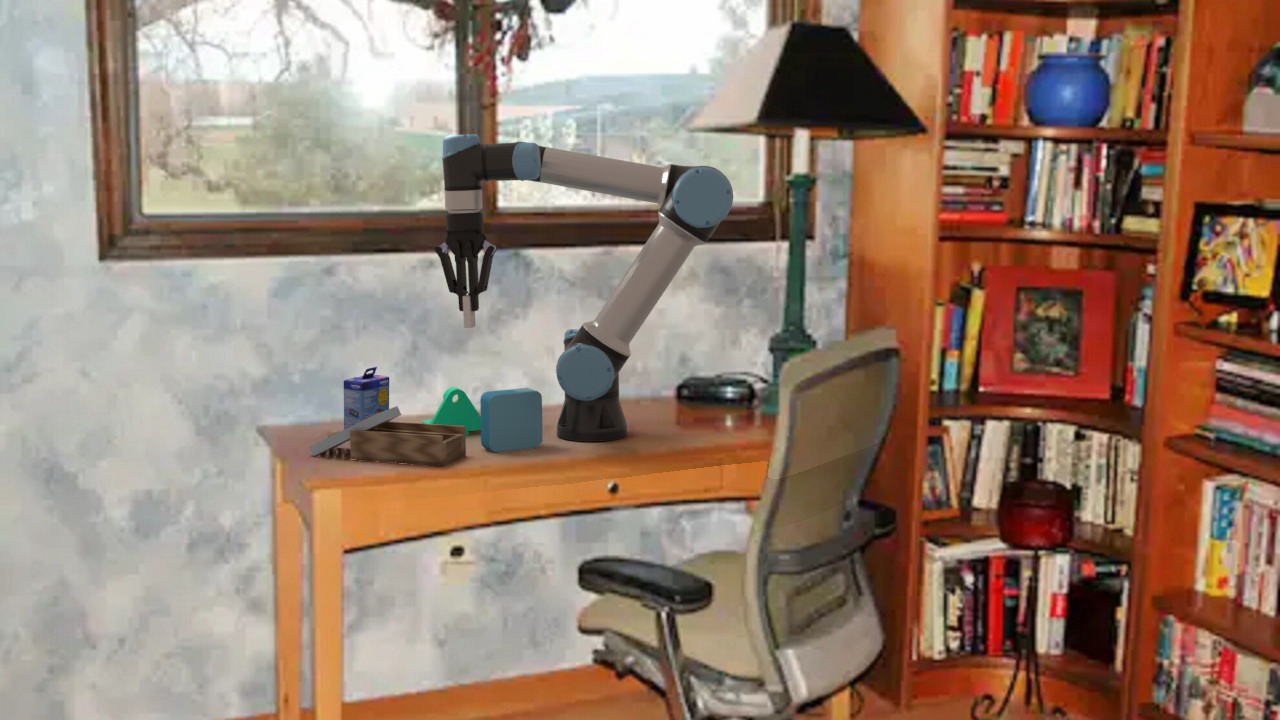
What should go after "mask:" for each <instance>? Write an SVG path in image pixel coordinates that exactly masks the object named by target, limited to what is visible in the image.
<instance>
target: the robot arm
mask: <svg viewBox="0 0 1280 720" xmlns="http://www.w3.org/2000/svg"><path fill="white" fill-rule="evenodd" d="M441 159H442V170H443V185H444V186H443V187H444V209H445V210H446V211H448V212H447V213H446V214H445V227H446V228H445V229H446V236H445V239H444V242H443V243H441V244H440V245H438V246H435V248H434V251H435V253H436V254H437V256H438V257H439V259H440V263H441V267H442V270H443V274H444V278H445V280H446V284H447V288H448V291H449V293H452V294H455V295H456V296H458V297H457V299H458V309H459V311H460V312H462V313H463V328H464V329H472V328H475V327H476V325H477V324H476V312H478V311H479V309H480V302H479V299H480V298H479V297H480V294H482V293H484V292H486V291H487V290H488V286H489V281H490V276H491V275H490V274H491V271H492V270H491V269H492V264H493V259H494V255H495V254H496V252H497V251H498V246H497V245H496V244H492V243H491V242H489V241H487V237H486V235H485V233H484V231H485V229H484V214H483V213H482V211H480V210H482V209H483V192H482V191H483V189H482V188H483V187H482V182H490V181H492V182H495V181H499V182H501V181H503V182H505V181H522V182H524V181H528V182H535V183H542V184H547V185H551V186H552V185H553V186H559V187H564V188H570V189H574V190H575V189H576V190H581V191H586V192H592V193H597V194H603V195H609V196H615V197H620V198H624V199H625V198H626V199H631V200H637V201H642V202H647V203H653V204H657V205H659V207H660V208H659V210H658V211H657V214H658V215H657V216H658V219H659V220H658V224H657V226H656V228H655V229H654V230H653V232H652V233H651V235H650V237H648V239H647V241H646V242H645V244H644V245H643V247H642V248H641V250H640V251H639V252H638V254H637V256H636V257H635V259H634V260H633V261H632V263H631V264H630V266H629V267H628V269H627V271H626V272H625V274H624V275H623V276H622V278H621V280H620V281H619V283H618V284H617V285H616V287H615V289H614V290H613V291H612V293H611V294H610V296H609V298H608V299H607V301H606V302H605V303H604V305H603V307H602V308H601V310H600V311H599V312H598V314H597V315H596V317H595V319H593V320H591V321H587V322H583V323H582V325H581V327H580V328H578V329H577V328H576V329H572V328H570V329H569V328H568V329H566V331H565V332H564V336H563V337H564V338H563V345H564V347H563V348H564V351H562V353H561V354H560V356H559V358H558V359H557V362H556V363H557V364H556V365H555V366H556V367H555V368H556V369H555V373H556V378H557V382H558V384H559V386H560V388H561V389H562V390H563V392H564V401H563V405H562V408H561V411H560V414H559V417H558V421H557V424H556V436H557V437H558V438H560V439H564V440H567V441H575V442H576V441H577V442H605V441H606V442H607V441H613V440H614V441H615V440H619V439H623V438H625V437H627V436H628V423H627V421H626V416H625V414H624V410H623V407H622V405H621V401H620V372H621V370H622V369H623V367H624V365H625V364H627V363H626V362H627V361H628V359H629V358H630V356H631V354H632V353H631V350H630V348H631V347H630V343H631V341H632V340H633V339H634V337H635V336H636V335H637V333H638V332H639V331H640V329H641V327H642V326H643V324H644V323H645V321H646V319H647V318H648V317H649V315H650V314H651V313H652V311H653V310H654V308H655V307H656V305H657V304H658V302H659V300H660V299H661V297H662V296H663V294H664V293H665V291H666V290H667V289H668V287H669V286H670V284H671V283H672V281H673V280H674V278H675V276H676V275H677V274H678V272H679V271H680V269H681V268H682V267H683V265H684V263H685V262H686V260H687V259H688V258H689V256H690V254H691V253H692V251H693V250H694V248H695V247H697V246H702V245H706V244H707V242H708V241H709V239H710V238H711V237H712V235H713V234H714V232H715V231H716V230H717V229H718V228H717V227H718V226H719V225H720V223H721V222H723V220H724V219H726V217H728V214H729V213H730V211H731V209H732V206H733V201H734V190H733V187H732V184H731V181H730V179H728V177H727V175H725V174H724V173H723V172H722V171H720V170H719V169H717V168H715V167H713V166H709V165H680V164H674V163H673V164H672V163H669V164H667V165H666V166H664V167H662V166H656V165H650V164H645V163H640V162H635V161H628V160H621V159H616V158H612V157H605V156H601V155H600V156H598V155H594V154H588V153H584V152H583V153H582V152H578V151H572V150H571V151H570V150H565V149H559V148H555V147H548V146H542V145H538V144H537V143H536V142H526V141H516V142H515V141H514V142H502V143H501V142H500V143H481V140H480V136H479V135H478V134H476V133H473V134H472V133H471V134H449V135H446V136H445V137H444V138H443V140H442V157H441ZM482 249H483V256H482V263H481V267H480V271H479V266H478V263H479V254H480V253H481V251H482ZM449 252H452V254H453V255H454V262H455V270H454V267H453V263H452V259H451V256H450V254H449ZM466 263H467V264H466ZM467 272H468V273H467ZM479 272H480V273H479ZM455 273H456V274H455ZM467 274H468V281H467ZM467 282H468V283H467Z"/></svg>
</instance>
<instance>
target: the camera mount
mask: <svg viewBox="0 0 1280 720" xmlns="http://www.w3.org/2000/svg"><path fill="white" fill-rule="evenodd" d="M455 396H457V399H456V400H455V401H453V398H454V397H455ZM421 423H423V424H438V425H454V426H465V431H466V436H469V431H470V432H472V431H481V414H480V413H479V412H478V410H477V409H476V407H475V405H474V404H473V403H472V401H471V399H470V398H469V396H468V395H467V393H466V392H465V391H464V390H462V389H460V388H458V387H455V386H451V387H448V388H447V389H446V390H445V391H444V393H443V395H442V401H441V403H440V405H439V406H438V408H437V410H436V412H435V414H434V415H433V417H432V419H424V420H422V421H421Z"/></svg>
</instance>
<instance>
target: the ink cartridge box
mask: <svg viewBox="0 0 1280 720" xmlns="http://www.w3.org/2000/svg"><path fill="white" fill-rule="evenodd" d="M377 368H378V367H377V366H373V367H370V368H366V370H365V371H364V372H363V375H361V376H355V377H351V378H348V379H344V380H343V430H345V429H347V428H349V427H351V426H353V425H355V424H357V423H359V422H361V421H363V420H365V419H367V418H369V417H371V416H373V415H375V414H377V413H380V412H383V411H385V410H388V409H390V376H386V375H382V374H376V371H377ZM371 371H372V372H371Z"/></svg>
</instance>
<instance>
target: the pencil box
mask: <svg viewBox="0 0 1280 720" xmlns="http://www.w3.org/2000/svg"><path fill="white" fill-rule="evenodd" d="M466 436H467V435H466V431H465V426H454V425H438V424H423V423H422V422H420V423H419V422H407V421H406V422H404V421H392V420H390V421H388V422H386V423H384V424H382V425H380V426H378V427H376V428H374V429H372V430H369V431H362V430H350V441H349V442H350V443H349V445H350V446H349V447H350V451H349V453H350V460H351V459H356V460H355V461H358V460H366V461H365V462H371V461H379V462H378V463H385V462H393V463H392V464H398V463H407V464H406V465H411V464H417V465H416V466H425V465H427V466H429V467H442V468H443V467H445V466H446V465H449V464H451V463H453V462H455V461H457V460H460V459H462V458H464V457H466V456H467V448H466V447H467V440H466V439H467V437H466ZM395 462H396V463H395ZM427 466H426V467H427Z"/></svg>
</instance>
